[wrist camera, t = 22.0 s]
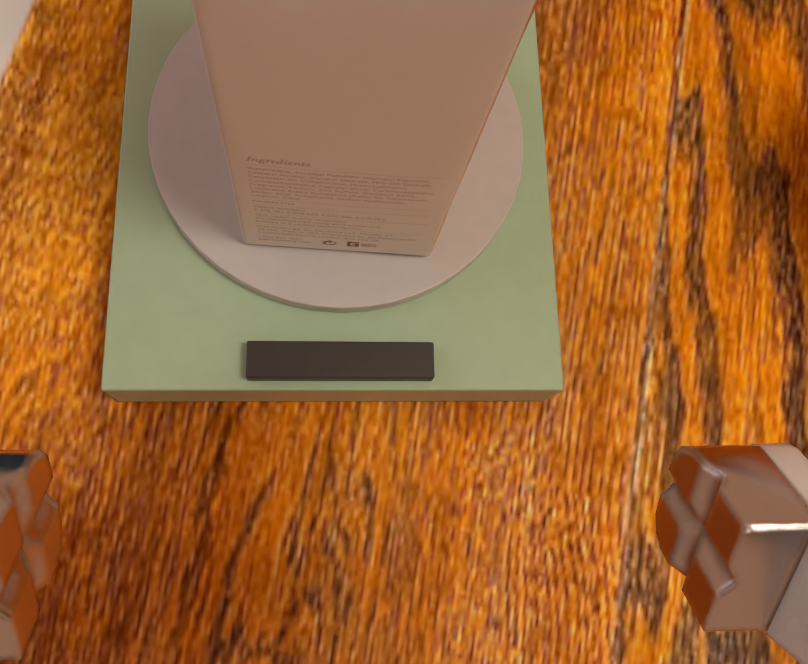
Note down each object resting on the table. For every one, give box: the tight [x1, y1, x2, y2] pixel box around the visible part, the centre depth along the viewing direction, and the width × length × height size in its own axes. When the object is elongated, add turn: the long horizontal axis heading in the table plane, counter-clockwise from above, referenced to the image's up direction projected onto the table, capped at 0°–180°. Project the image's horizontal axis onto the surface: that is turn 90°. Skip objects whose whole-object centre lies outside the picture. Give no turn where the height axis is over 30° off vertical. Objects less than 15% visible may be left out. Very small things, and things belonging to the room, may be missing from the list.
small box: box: [191, 0, 538, 256], centre depth 20 cm, size 8×6×13 cm
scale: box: [101, 0, 564, 402], centre depth 27 cm, size 15×17×3 cm
